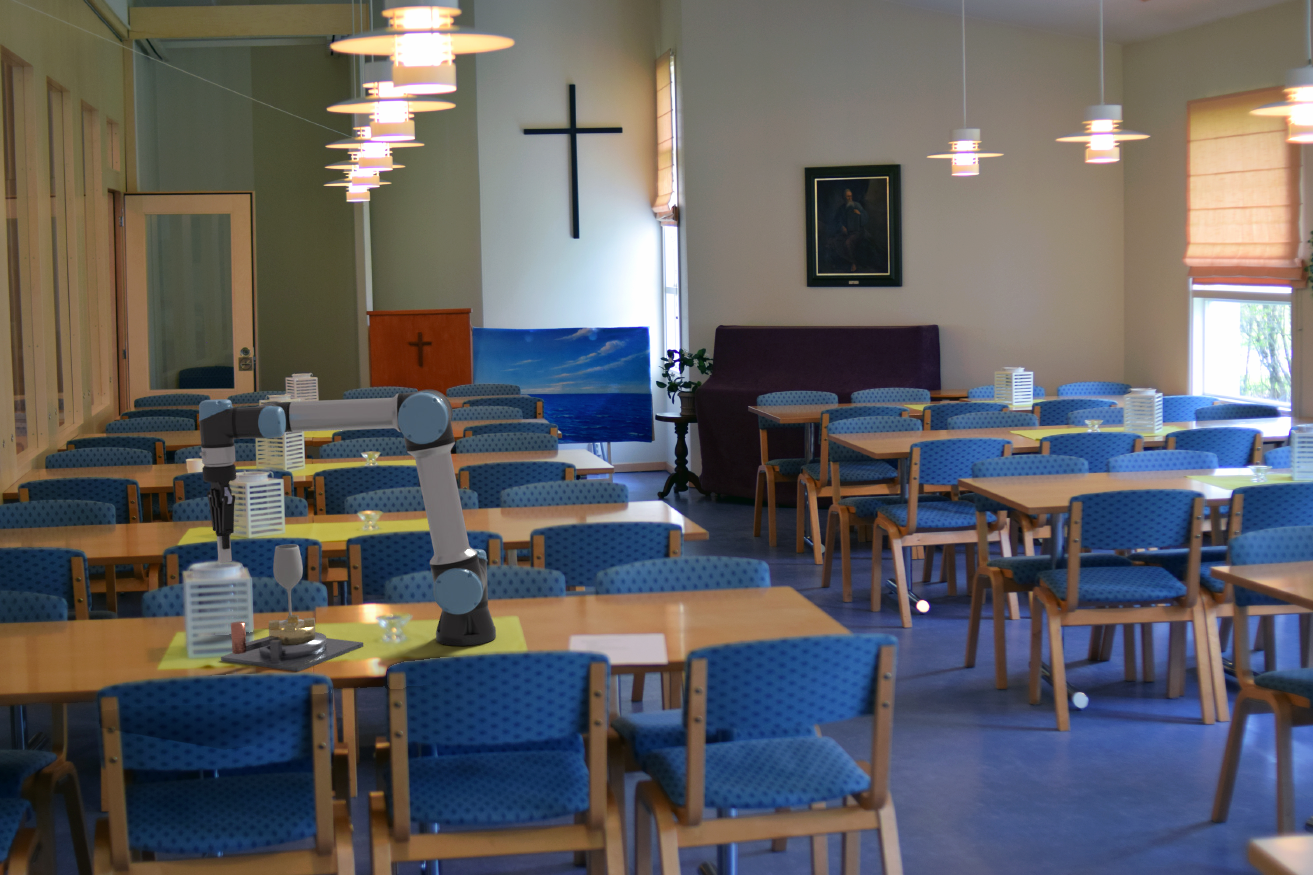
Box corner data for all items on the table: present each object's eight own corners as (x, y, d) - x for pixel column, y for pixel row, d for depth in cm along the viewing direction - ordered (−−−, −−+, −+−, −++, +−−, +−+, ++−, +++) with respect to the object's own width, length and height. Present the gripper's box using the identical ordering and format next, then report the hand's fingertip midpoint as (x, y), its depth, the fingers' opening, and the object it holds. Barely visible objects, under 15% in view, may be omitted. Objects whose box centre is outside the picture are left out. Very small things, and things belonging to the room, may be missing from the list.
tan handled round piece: (294, 630, 330) (293, 601, 329) (325, 636, 324) (323, 606, 323) (218, 652, 311) (217, 621, 310) (249, 658, 305) (247, 627, 304)
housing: (363, 646, 328) (362, 622, 328) (298, 671, 307) (297, 646, 306) (289, 637, 339) (287, 614, 338) (220, 660, 317) (219, 636, 317)
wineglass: (276, 627, 349) (272, 549, 347) (276, 620, 356) (272, 544, 354) (305, 625, 351) (301, 548, 349) (305, 618, 358) (301, 543, 356)
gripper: (194, 463, 315) (200, 560, 317) (212, 468, 304) (219, 568, 307) (224, 460, 319) (231, 555, 322) (244, 465, 309) (250, 563, 312)
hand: (225, 561), depth 314 cm, fingers closed
